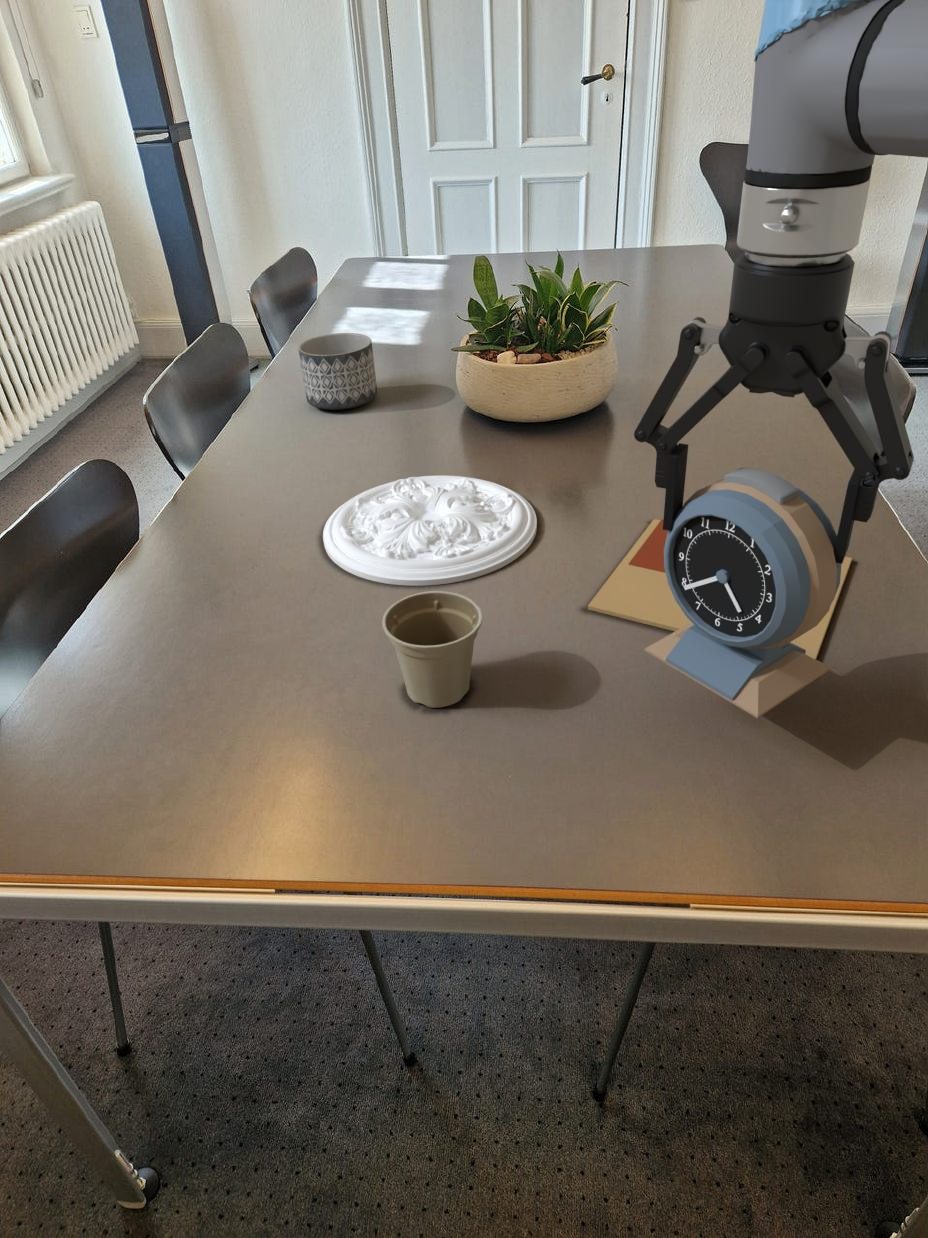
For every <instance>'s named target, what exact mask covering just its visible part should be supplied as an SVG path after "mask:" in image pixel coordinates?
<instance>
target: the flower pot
mask: <svg viewBox="0 0 928 1238" xmlns="http://www.w3.org/2000/svg"><path fill="white" fill-rule="evenodd" d="M482 623H483V611H482V609H481V607H480V606H479V605H478V604H477V602H475V601H474V600H473V599H471V598H470V597H467V596H465V595H463V594H460V593H458V592H453V591H452V592H451V591H447V590H431V591H430V590H427V591H421V592H417V593H413V594H410V595H408V596H405V597H403V598H401V599H398V600H397V601H395V602H394V603H392V604H391V605H390V606H389V607H388V608H387V609H386V610H385V611H384V613H383V616H382V620H381V624H382V629H383V631H384V633H385V636H387V637H388V639H389V641H390V644H391V645H392V646H393V647H394V651H395V653H396V658H397V661H398V664H399V667H400V671H401V675H402V678H403V682H404V685H405V689H406V693H407V695H408V697H409V698H410V699H411V701H413V702H414V703H415V704H421V705H424V706H426V707H427V708H434V709H436V708H444V707H448V706H453V705H455V704H456V703H458V702H460V701H461V700H462V699H463V697H464V696H465V695H466V694H467V693H468V692H469V689H470V680H471V671H472V664H473V663H472V662H473V654H474V645H475V640H476V638H477V636H478V632H479V630H480V629H481V626H482Z"/></svg>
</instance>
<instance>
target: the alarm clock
mask: <svg viewBox="0 0 928 1238" xmlns="http://www.w3.org/2000/svg"><path fill="white" fill-rule="evenodd" d="M827 515H828V514H826V513H825V511H824V510H823V508H822V506H820V504H819V503H818V502H817V501H816V500H814V499H813V498H812V497H811V496H810V495H809V494H808V493H806V492H805V491H803V490H802V489H800V488H798V487H796V486H795V484H792V483H791V482H789V481H788V480H787V479H785V478H784V477H782V476H780V475H778V474H776V473H774V472H772V471H769V470H765V469H762V468H756V467H739V468H737V469H734V470H732V471H731V472H728V473H727V474H724V475H723V479H721V480H718V481H716V482H714V483H710V484H709V485H707V486H705V487H703V488H700V489H698V490H696V491H695V492H693V494H692V495H691V496H690V497H689V498H687V500H686V501H684V502H683V508H682V509H681V510H680V511H679V512H678V513H677V515H676V517H675V520H674V522H673V527H672V531H668V533H667V537H666V542H665V546H664V568H665V572H666V577H667V581H668V585H669V587H670V589H671V591H672V594H673V596H674V598H675V600H676V602H677V604H678V605H679V607H680V608H681V610H682V611H683V612H684V614H685V615H686V617H687V618H688V619H689V620H690V621H691V623H689V624H688V625H686V626H684V627H682V628H680V629H679V630H677V631H675V632H674V631H672V632H671V633H670V634H668V635H666V636H664V637H662V638H661V639H659V640H657V641H656V642H653V643H652V644H650V645H648V646H647V647H645V648H644V651H645V652H646V653H648V654H649V655H651V656H653V657H654V658H656V659H658V660H659V661H661V662H663V663H664V664H665V665H667V666H669V667H671V668H673V669H674V670H676V671H678V672H679V673H681V674H682V675H684V676H686V677H687V678H689V679H691V680H693V681H694V682H696V683H697V684H699V685H701V686H703V687H704V688H706V689H708V690H709V691H711V692H713V693H715V695H717V696H719V697H720V698H723V699H724V700H726V701H728V702H729V703H731V704H732V705H734V706H736V707H738V708H739V709H741V710H742V711H744V712H746V713H747V714H749V715H751V716H753V717H754V718H756V719H759V718H760V717H762V716H763V715H765V714H766V713H768V712H769V711H771V710H772V709H774V708H775V707H777V706H778V705H780V704H781V703H783V702H784V701H786V700H787V699H788V698H790V697H791V696H794V695H795V694H796V693H798V692H799V691H801V690H802V689H803V688H805V687H807V686H808V685H810V684H811V683H813V681H815V680H816V679H819V678H820V677H821V676H823V675H824V674H826V673H828V672H829V671H830V670H831V668H832V667H831V666H830V665H827V664H825V663H823V662H822V661H820V660H818V659H814V658H812V657H810V656H808V655H806V654H805V652H806V650H805V649H803V648H801V647H799V646H797V645H795V644H793V643H791V641H793V640H794V639H796V638H798V637H800V636H801V635H803V634H804V633H806V632H807V631H809V630H811V629H812V628H814V627H815V626H817V625H818V624H819V622H820V621H821V620H822V619H823V617H824V616H825V615H826V614H827V613H828V611H829V609H830V606H831V604H832V602H833V600H834V598H835V595H836V593H837V590H838V587H839V585H840V578H841V565H842V564H840V563H836V561H835V556H834V549H835V544H836V539H837V533H836V530H835V528H834V526H833V523H832V521H831V519H830V518H829V517H828V516H827Z"/></svg>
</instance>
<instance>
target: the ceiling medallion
mask: <svg viewBox="0 0 928 1238" xmlns="http://www.w3.org/2000/svg"><path fill="white" fill-rule="evenodd" d="M537 530H538V519H537V514H536V511H535V509H534V508H533V506H532V505H531V503H530V502H529V501H528V500H527V499H525V497H523V496H522V495H521V494H519V493H517V492H515V490H512V489H510V488H508V487H506V486H503V485H501V484H498V483H496V482H492V481H488V480H484V479H480V478H475V477H468V476H460V475H424V476H423V475H422V476H410V477H407V478H399V479H397V480H393V481H390V482H387V483H383V484H380V485H377V486H375V487H372V488H369V489H367V490H365V491H363V492H360V493H358V494H357V495H355V496H353V497H352V498H350V499H348V500H347V501H345V502H344V503H342V505H340V506H339V507H338V508H336V510H334V512H333V513H331V514H330V516H329V517H328V519H327V520H326V522H325V524H324V528H323V532H322V540H323V546H324V549H325V551H326V554H327V556H328V557H329V558H330V560H331V561H332V562H333V563H335V565H336V566H338V567H339V568H341V569H342V570H344V571H346V572H348V573H350V574H352V575H354V576H356V577H359V578H362V579H364V580H368V581H372V582H375V583H381V584H388V585H394V586H395V585H396V586H406V587H407V586H411V587H413V586H414V587H415V586H416V587H421V586H423V587H425V586H436V585H437V586H438V585H447V584H453V583H458V582H464V581H467V580H471V579H475V578H479V577H481V576H484V575H487V574H490V573H492V572H495V571H497V570H499V569H501V568H503V567H505V566H507V565H509V564H510V563H512V562H513V561H515V560H517V559H518V558H519V557H520V556H522V555H523V554H524V553H525V552H526V551H527V550H528V548H530V546H531V545H532V544H533V541H534V539H535V538H536V534H537Z"/></svg>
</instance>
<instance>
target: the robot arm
mask: <svg viewBox="0 0 928 1238" xmlns="http://www.w3.org/2000/svg"><path fill="white" fill-rule="evenodd" d="M753 59H754V76H753V89H752V101H751V112H750V113H751V115H750V128H749V136H748V137H749V138H748V145H747V147H748V148H747V158H746V165H745V171H744V178H743V182H742V189H741V200H740V209H739V219H738V227H737V235H736V245H737V246H738V248H739V249H740V250H742V251H743V253H741V254H740V255H739V256H738V257H737V258H736V259H735V260H734V263H733V269H732V270H733V271H732V279H731V289H730V298H729V306H728V317H727V320H726V323H725V324H724V326H723V325H717V324H713V323H712V324H711V323H707V321H706V319H705V318H703V317H702V316H696V317H695V318H693V319H692V320H691V321H689V322H688V323H687V324H686V325H685V326H683V328H682V329H681V331H680V334H679V340H678V347H677V353H676V357H675V358H674V360H673V362H672V364H671V365H670V367H669V369H668V370H667V373H666V375H665V376H664V378H663V379H662V382H661V383H660V385H659V387H658V389H657V391H656V392H655V394H654V396H653V398H652V400H651V401H650V403H649V405H648V407H647V408H646V410H645V412H644V414H643V416H642V417H641V419H640V421H639V423H638V424H637V426H636V428H635V430H634V432H633V437H634V439H635V440H636V441H637V442H639V443H646V444H649V445H651V446H652V447H653V448H654V450H655V452H656V456H655V457H656V458H655V472H654V483H655V486H656V488H658V489H659V488H660V489H665V495H664V507H663V508H664V509H663V519H662V520H663V530H668V531H672V527H673V522H674V520H675V517H676V515H677V513H678V512H679V511H680V510H681V509H682V508H683V505H684V499H685V498H684V497H685V486H686V475H687V466H688V465H687V464H688V456H689V455H688V454H689V443H688V444H687V443H681V442H680V441H681V440H682V439H683V438H684V437H685V436H686V435H687V434H689V433H690V431H691V430H692V429H693V428H695V427H696V426H697V425H698V424H699V423H700V422H701V421H702V420H703V419H704V418H705V417H706V416H707V415H709V413H710V412H711V411H712V410H714V408H716V406H717V405H718V404H719V403H721V402H722V401H723V400H724V399H725V398H726V397H727V396H729V394H730V393H732V392H733V390H735V389H736V388H737V387H738V386H739V385H742V386H743V388H745V389H747V390H748V393H750V394H751V393H752V394H759V395H760V394H766V393H768V394H769V393H773V394H776V395H779V396H780V397H785V398H795V396H798V395H801V394H804V396H805V397H806V399H807V401H808V403H810V405H811V407H812V408H814V409H816V410H817V412H818V413H819V415H820V416H821V418H822V419H823V421H824V423H825V425H826V426H827V428H828V429H829V431H830V432H831V434H832V435H833V437H834V438H835V440H836V442H837V443H838V445H839V447H840V448H841V450H842V451H843V453H844V455H845V456H846V457H847V460H848V461H849V463H850V464H851V465H852V467H853V471H852V473H851V476H850V478H849V480H848V482H847V486H846V487H847V488H846V492H845V495H844V501H843V505H842V510H841V516H840V520H839V525H838V530H837V533H836V535H837V539H836V544H835V549H834V556H835V561H836V563H840V564H842V563H843V561H844V558H845V557H846V555H847V553H848V550H849V547H850V543H851V538H852V533H853V528H854V523H855V521H856V522H861V523H868V521H869V520H870V518H871V517H872V516H873V515H872V514H873V513H874V509H875V506H876V501H877V496H878V492H879V487H880V484H881V483H882V482H884V481H887V480H892V479H894V480H896V481H903V480H906V479H907V478H908V477H909V476H910V473H911V470H912V467H913V463H914V461H915V460H914V459H915V457H914V452H913V449H912V445H911V442H910V438H909V435H908V431H907V427H906V424H905V420H904V417H903V416H904V415H903V413H902V410H901V405H900V401H899V398H898V395H897V390H896V386H895V383H894V380H893V377H892V373H891V369H890V364H889V363H890V358H891V357H890V356H891V348H892V342H893V340H892V339H893V338H892V336H891V334H890V333H889V332H888V331H884V330H882V331H881V330H880V331H878V332H877V333H875V334H874V335H873V336H848V334H847V332H846V329H845V318H846V313H847V307H848V301H849V296H850V290H851V286H852V285H851V284H852V280H853V275H854V270H855V269H854V268H855V261H854V259H853V258H852V256H851V255H850V254H849V253H848V252H851V251H852V250H853V249H854V248H856V247H857V246H858V245H859V242H860V236H861V230H862V225H863V222H864V221H863V220H864V216H865V211H866V210H865V209H866V205H867V200H868V195H869V189H870V184H871V175H872V170H873V165H874V161H875V157H876V156H888V155H889V156H890V155H892V156H901V157H903V156H904V157H915V158H928V0H765V2H764V7H763V14H762V19H761V25H760V30H759V36H758V41H757V48H756V49H755V51H754V58H753ZM716 344H717V345H718V346H719V349H720V351H721V352H722V355H724V357H725V359H726V361H727V363H728V365H729V368H728V369H727V370H726V371H725V372H724V373H723V374H722V375H721V376H720V377H719V378H718V379H717V380H716V381H715V382H714V383H712V384H711V386H710V387H709V388H708V389H707V390H706V391H705V392H704V393H702V395H701V396H700V397H699V398H698V399H697V400H696V401H695V402H693V404H691V406H690V407H689V408H688V409H686V411H684V412H683V413H682V415H680V417H678V418H677V419H676V420H675V421H674V422H673V423H672V424H671V426H669V427H666V426H665V425H662V424H661V423H662V422H663V420H664V418H665V417H666V415H667V414H668V411H670V408H671V407H672V405H673V403H674V402H675V399H676V398H677V396H678V395H679V393H680V392H681V389H682V387H683V386H684V384H685V383H686V380H687V379H688V377H689V375H690V374H691V372H692V370H693V369H694V367H695V365H696V364H697V362H698V360H699V358H700V356H704V355H706V354H707V353H708V352H709V351H710V350H711V348H712V347H713V345H716ZM843 356H847V357H850V359H852V364H853V366H854V368H855V369H856V370H857V371H860V372H863V377H864V385H865V389H866V393H867V396H868V400H869V404H870V407H871V410H872V414H873V418H874V421H875V424H876V428H877V431H878V435H879V438H880V442H881V445H882V449H883V453H884V456H882V455H881V453H880V451H878V449H877V447H876V445H875V444H874V442H873V440H872V439H871V437H870V436H869V434H868V432H867V431H866V429H865V428H864V426H863V424H862V423H861V421H860V420H859V418H858V417H857V415H856V413H855V412H854V410H853V408H852V407H851V405H850V403H849V401H848V400H847V398H846V397H845V396H844V394H843V393H842V390H841V388H840V385H839V382H838V379H837V378H836V377H835V375H834V374H833V371H832V370H831V368H832V367H834V366H835V365H836V364H837V363H838V362H839V361H840V360H841V359H842V358H843ZM679 442H680V443H679Z"/></svg>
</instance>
